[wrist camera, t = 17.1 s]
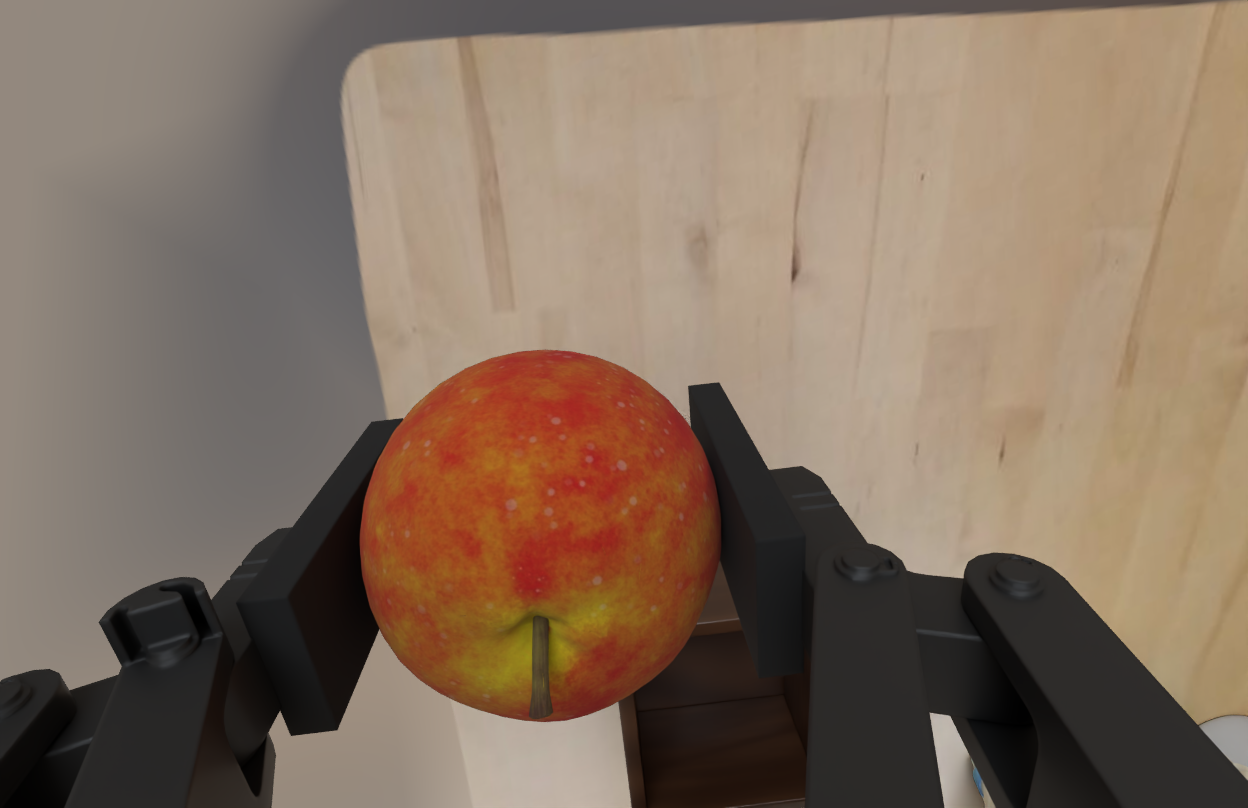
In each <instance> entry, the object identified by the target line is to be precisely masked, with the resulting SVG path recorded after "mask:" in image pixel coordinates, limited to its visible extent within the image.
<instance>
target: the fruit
mask: <svg viewBox="0 0 1248 808" xmlns="http://www.w3.org/2000/svg"><path fill="white" fill-rule="evenodd" d="M360 555H361V569H362V577H363V581H364V585H365V589H366V593H367V597H368V601H369V605H370V608H371V611H372V613H373V615H374V617H375V620H376V622H377V624H378V626H379V629H380V631H381V633H382V635H383V637H384V639H385V640H386V642H387V643H388V644H389V646H390V647H391V649H392V650H393V652H394V653H395V655H396V656H397V658H398V659H399V660H400V662H401V663H402V664H403V665H405V666H406V667H407V668H408V669H409V670H410V671H411V672H412V673H413V674H414V675H415V676H416V677H417V678H418V679H420V680H421V681H422V682H424V683H425V684H427V685H428V686H430V687H431V688H433V689H434V690H436V691H437V692H439V693H440V694H443V695H445V696H447V697H449V698H451V699H453V700H455V701H457V702H459V703H462V704H464V705H467V706H470V707H472V708H475V709H478V710H481V711H485V712H488V713H492V714H495V715H499V716H502V717H508V718H513V719H518V720H524V721H537V722H551V721H566V720H570V719H574V718H578V717H582V716H586V715H589V714H591V713H594V712H596V711H599V710H601V709H604V708H606V707H609V706H611V705H613V704H615V703H616V702H618V701H620V700H622V699H624V698H625V697H627V696H629V695H631V694H632V693H634V692H635V691H636V690H638V689H639V688H641V687H642V686H644V685H645V684H647V683H648V682H649V681H651V680H652V679H653V678H654V677H656V676H657V675H658V674H659V673H660V672H661V671H663V670H664V669H665V668H666V667H667V666H668V665H669V664H670V663H671V662H672V661H673V660H674V658H675V657H676V656H677V655H678V653H679V652H680V651H681V650H682V648H683V647H684V646H685V644H686V642H687V641H688V639H689V637H690V635H691V633H692V632H693V630H694V628H695V626H696V624H697V622H698V619H699V617H700V615H701V613H702V611H703V608H704V606H705V604H706V602H707V600H708V597H709V594H710V591H711V588H712V585H713V582H714V578H715V575H716V571H717V568H718V564H719V560H720V555H721V510H720V505H719V500H718V494H717V489H716V484H715V479H714V476H713V473H712V470H711V468H710V465H709V463H708V460H707V457H706V455H705V452H704V450H703V448H702V446H701V444H700V442H699V441H698V439H697V437H696V436H695V434H694V433H693V431H692V429H691V428H690V426H689V424H688V423H687V421H686V420H685V419H684V418H683V416H682V415H681V414H680V413H679V412H678V411H677V410H676V408H675V407H674V406H673V405H672V404H671V403H670V402H669V400H668V399H666V398H665V397H664V396H663V395H662V394H661V393H659V392H658V391H657V390H656V389H655V388H653V387H652V386H651V385H650V384H649V383H647V382H646V381H645V380H643V379H642V378H640V377H638V376H636V375H635V374H633V373H631V372H630V371H628V370H626V369H625V368H623V367H621V366H619V365H616V364H613V363H611V362H608V361H606V360H603V359H600V358H598V357H594V356H590V355H585V354H581V353H576V352H571V351H557V350H535V351H523V352H516V353H512V354H507V355H503V356H499V357H494V358H491V359H488V360H486V361H483V362H481V363H478V364H476V365H473V366H471V367H468V368H466V369H464V370H463V371H461V372H459V373H457V374H456V375H454V376H452V377H451V378H449V379H447V380H446V381H444V382H442V383H441V384H439V385H438V386H437V387H436V388H435V389H433V390H432V391H431V392H430V393H429V394H427V395H426V396H425V397H424V398H423V399H422V400H420V401H419V402H418V403H417V404H416V405H415V406H414V407H413V408H412V410H411V411H410V412H409V413H408V414H407V416H406V417H405V418H404V419H403V421H402V422H401V423H400V424H399V426H398V427H397V428H396V429H395V431H394V432H393V434H392V435H391V437H390V439H389V441H388V443H387V444H386V446H385V448H384V450H383V452H382V454H381V455H380V457H379V459H378V461H377V463H376V466H375V468H374V471H373V474H372V477H371V480H370V483H369V486H368V489H367V492H366V496H365V500H364V506H363V513H362V521H361V529H360Z"/></svg>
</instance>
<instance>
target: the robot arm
mask: <svg viewBox="0 0 1248 808" xmlns="http://www.w3.org/2000/svg"><path fill="white" fill-rule="evenodd" d="M688 389H689V405H690V421H691V429H692V431H693V433H694V434H695V436H696V437H697V439H698V441H699V442H700V444H701V446H702V448H703V450H704V452H705V455H706V457H707V460H708V463H709V465H710V468H711V470H712V473H713V476H714V479H715V484H716V489H717V494H718V500H719V505H720V510H721V555H720V562H721V565H722V568H723V571H724V575H725V578H726V581H727V584H728V587H729V590H730V593H731V596H732V599H733V602H734V605H735V608H736V611H737V614H738V617H739V620H740V623H741V626H742V629H743V632H744V635H745V638H746V641H747V645H748V648H749V651H750V654H751V657H752V660H753V663H754V666H755V669H756V672H757V675H758V678H767V677H775V676H783V675H791V674H799V673H804V648H805V651H806V653H807V655H808V657H809V660H810V662H811V674H810V697H809V720H808V742H807V765H806V788H805V808H944V802H943V796H942V789H941V783H940V777H939V770H938V764H937V758H936V751H935V745H934V739H933V732H932V726H931V720H930V713H936V714H943V715H949V716H951V718H952V720H953V722H954V724H955V726H956V728H957V731H958V733H959V735H960V737H961V739H962V741H963V743H964V745H965V747H966V749H967V751H968V753H969V755H970V757H971V759H972V761H973V763H974V765H975V767H976V769H977V771H978V773H979V775H980V777H981V779H982V781H983V783H984V785H985V787H986V789H987V791H988V793H989V795H990V797H991V799H992V801H993V803H994V805H995V807H996V808H1248V780H1247V779H1246V778H1245V777H1244V776H1243V775H1242V773H1241V772H1240V771H1239V770H1238V769H1237V768H1236V767H1235V766H1234V765H1233V763H1232V762H1231V761H1230V760H1229V759H1228V758H1227V757H1226V756H1225V755H1224V754H1223V752H1222V751H1221V750H1220V749H1219V748H1218V747H1217V746H1216V745H1215V744H1214V742H1213V741H1212V740H1211V739H1210V738H1209V737H1208V736H1207V735H1206V734H1205V733H1204V731H1203V730H1202V729H1201V728H1200V727H1199V726H1198V725H1197V724H1196V723H1195V722H1194V720H1193V719H1192V718H1191V717H1190V716H1189V715H1188V714H1187V713H1186V712H1185V710H1184V709H1183V708H1182V707H1181V706H1180V705H1179V704H1178V703H1177V702H1176V701H1175V699H1174V698H1173V697H1172V696H1171V695H1170V694H1169V693H1168V692H1167V691H1166V689H1165V688H1164V687H1163V686H1162V685H1161V684H1160V683H1159V682H1158V681H1157V680H1156V678H1155V677H1154V676H1153V675H1152V674H1151V673H1150V672H1149V671H1148V670H1147V669H1146V667H1145V666H1144V665H1143V664H1142V663H1141V662H1140V661H1139V660H1138V659H1137V657H1136V656H1135V655H1134V654H1133V653H1132V652H1131V651H1130V650H1129V649H1128V648H1127V646H1126V645H1125V644H1124V643H1123V642H1122V641H1121V640H1120V639H1119V638H1118V636H1117V635H1116V634H1115V633H1114V632H1113V631H1112V630H1111V629H1110V628H1109V627H1108V625H1107V624H1106V623H1105V622H1104V621H1103V620H1102V619H1101V618H1100V617H1099V616H1098V614H1097V613H1096V612H1095V611H1094V610H1093V609H1092V608H1091V607H1090V606H1089V604H1088V603H1087V602H1086V601H1085V600H1084V599H1083V598H1082V597H1081V596H1080V595H1079V593H1078V592H1077V591H1076V590H1075V589H1074V588H1073V587H1072V586H1071V585H1070V583H1069V582H1068V581H1067V580H1066V579H1065V578H1064V577H1063V576H1061V575H1060V574H1059V573H1058V572H1056V571H1055V570H1054V569H1053V568H1051V567H1049V566H1047V565H1045V564H1043V563H1041V562H1039V561H1036V560H1034V559H1031V558H1028V557H1024V556H1020V555H1016V554H1008V553H990V554H984V555H979V556H977V557H975V558H974V559H972V560H970V561H969V562H968V564H967V566H966V569H965V571H964V579H962V578H952V577H941V576H931V575H924V574H918V573H913V572H910V571H907V570H906V568H905V566H904V564H903V562H902V560H900V559H899V558H898V557H897V556H896V555H894V554H893V553H892V552H891V551H888V550H886V549H884V548H882V547H879V546H877V545H873V544H868V543H867V542H866V540H865V539H864V537H863V536H862V535H861V533H860V532H859V530H858V529H857V528H856V526H855V525H854V523H853V522H852V520H851V519H850V518H849V516H848V515H847V513H846V512H845V511H844V509H843V508H842V506H839V502H838V501H837V499H836V498H835V497H834V495H833V494H831V491H830V490H829V488H828V487H827V485H826V484H825V483H824V481H823V480H822V478H821V477H819V476H818V475H816V474H814V473H813V472H811V471H809V470H808V469H806V468H804V467H803V466H799V467H790V468H782V469H773V470H768V468H767V466H766V464H765V463H764V461H763V459H762V457H761V455H760V454H759V452H758V450H757V448H756V447H755V445H754V443H753V441H752V440H751V438H750V436H749V434H748V433H747V431H746V429H745V427H744V426H743V424H742V422H741V420H740V419H739V417H738V415H737V413H736V411H735V410H734V408H733V406H732V404H731V403H730V401H729V399H728V397H727V396H726V394H725V392H724V390H723V389H722V387H721V385H720V383H719V382H718V383H709V384H701V385H692V386H688ZM402 421H403V418H401V419H393V420H384V421H375V422H371V424H370V425H369V426H368V427H367V429H366V430H365V431H364V433H363V434H362V435H361V437H360V438H359V439H358V441H357V442H356V443H355V445H354V446H353V447H352V449H351V450H350V451H349V453H348V454H347V455H346V457H345V458H344V460H343V461H342V462H341V463H340V465H339V466H338V467H337V469H336V470H335V471H334V473H333V474H332V475H331V477H330V478H329V479H328V481H327V482H326V483H325V485H324V486H323V487H322V489H321V490H320V491H319V493H318V494H317V495H316V497H315V498H314V499H313V501H312V502H311V503H310V505H309V506H308V507H307V509H306V510H305V511H304V513H303V514H302V515H301V517H300V518H299V519H298V521H297V522H296V523H295V525H294V526H293V527H291V528H282V529H277V530H276V531H275V532H273V533H272V534H271V535H269V536H268V537H266V538H265V539H264V540H263V541H261V542H259V543H258V544H257V545H255V547H254V548H253V549H252V550H251V552H250V553H249V554H248V555H247V557H246V558H245V559H244V560H243V562H242V566H239V567H238V568H237V569H236V570H235V571H234V573H233V574H232V575H231V576H230V580H227V581H226V583H225V584H224V585H223V586H222V588H221V589H220V590H219V591H218V593H217V594H216V595H215V596H214V597H213V599H212V600H211V599H210V597H209V595H208V592H207V590H206V588H205V585H204V583H203V582H201V581H200V580H198V579H196V578H190V577H188V578H187V577H179V578H174V579H169V580H165V581H161V582H158V583H156V584H153V585H150V586H147V587H145V588H142V589H140V590H138V591H137V592H135V593H133V594H131V595H129V596H127V597H125V598H124V599H122V600H121V601H120V602H118V603H117V604H116V605H114V606H113V607H112V608H110V609H109V610H108V611H107V612H106V614H105V615H104V616H103V617H102V619H101V620H100V621H99V624H100V625H101V627H102V629H103V631H104V633H105V635H106V637H107V639H108V641H109V643H110V644H111V646H112V648H113V650H114V652H115V654H116V656H117V658H118V660H119V662H120V664H121V665H122V668H121V670H120V672H119V675H116V676H113V677H110V678H107V679H104V680H101V681H97V682H94V683H91V684H88V685H85V686H82V687H79V688H76V689H73V690H69V689H68V687H67V686H66V684H65V682H64V681H63V679H62V677H61V675H60V674H59V673H57V672H55V671H53V670H50V669H44V670H33V671H29V672H25V673H22V674H18V675H14V676H11V677H8V678H5V679H3V680H1V682H0V808H271V806H272V794H273V781H274V770H275V758H276V754H275V749H274V745H273V742H272V740H271V738H270V735H269V733H268V732H269V730H270V728H271V726H272V724H273V723H274V721H275V719H276V717H277V715H278V713H279V711H281V713H282V715H283V718H284V720H285V723H286V725H287V728H288V730H289V733H290V734H291V736H294V735H302V734H310V733H318V732H326V731H334V730H338V727H339V725H340V722H341V720H342V718H343V715H344V713H345V711H346V708H347V706H348V703H349V701H350V698H351V696H352V694H353V691H354V689H355V686H356V684H357V682H358V679H359V677H360V674H361V672H362V670H363V667H364V665H365V662H366V660H367V658H368V655H369V653H370V650H371V648H372V646H373V643H374V641H375V638H376V636H377V634H378V631H379V626H378V624H377V622H376V620H375V617H374V615H373V613H372V611H371V608H370V605H369V601H368V597H367V593H366V589H365V585H364V581H363V577H362V569H361V555H360V529H361V521H362V513H363V506H364V500H365V496H366V492H367V489H368V486H369V483H370V480H371V477H372V474H373V471H374V468H375V466H376V463H377V461H378V459H379V457H380V455H381V454H382V452H383V450H384V448H385V446H386V444H387V443H388V441H389V439H390V437H391V435H392V434H393V432H394V431H395V429H396V428H397V427H398V426H399V424H400V423H401V422H402ZM929 712H930V713H929Z"/></svg>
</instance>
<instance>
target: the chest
mask: <svg viewBox="0 0 1248 808" xmlns="http://www.w3.org/2000/svg"><path fill="white" fill-rule="evenodd" d="M810 674H811V662H810V660H809V657H808V655H807V653H806V651H805V648H804V673H799V674H791V675H783V676H775V677H767V678H758V675H757V672H756V669H755V666H754V663H753V660H752V657H751V654H750V651H749V648H748V645H747V641H746V638H745V635H744V632H743V629H742V626H741V623H740V620H739V617H738V614H737V611H736V608H735V605H734V602H733V599H732V596H731V593H730V590H729V587H728V584H727V581H726V578H725V575H724V571H723V568H722V565H721V562H720V560H719V564H718V568H717V571H716V575H715V578H714V582H713V585H712V588H711V591H710V594H709V597H708V600H707V602H706V604H705V606H704V608H703V611H702V613H701V615H700V617H699V619H698V622H697V624H696V626H695V628H694V630H693V632H692V633H691V635H690V637H689V639H688V641H687V642H686V644H685V646H684V647H683V648H682V650H681V651H680V652H679V653H678V655H677V656H676V657H675V658H674V660H673V661H672V662H671V663H670V664H669V665H668V666H667V667H666V668H665V669H664V670H663V671H661V672H660V673H659V674H658V675H657V676H656V677H654V678H653V679H652V680H651V681H649V682H648V683H647V684H645V685H644V686H642V687H641V688H639V689H638V690H636V691H635V692H634V693H632V694H631V695H629V696H627V697H625V698H624V699H622V700H620V701H618V702H619V710H620V718H621V726H622V734H623V742H624V750H625V758H626V766H627V774H628V782H629V790H630V798H631V806H632V808H805V788H806V765H807V742H808V720H809V697H810Z"/></svg>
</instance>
